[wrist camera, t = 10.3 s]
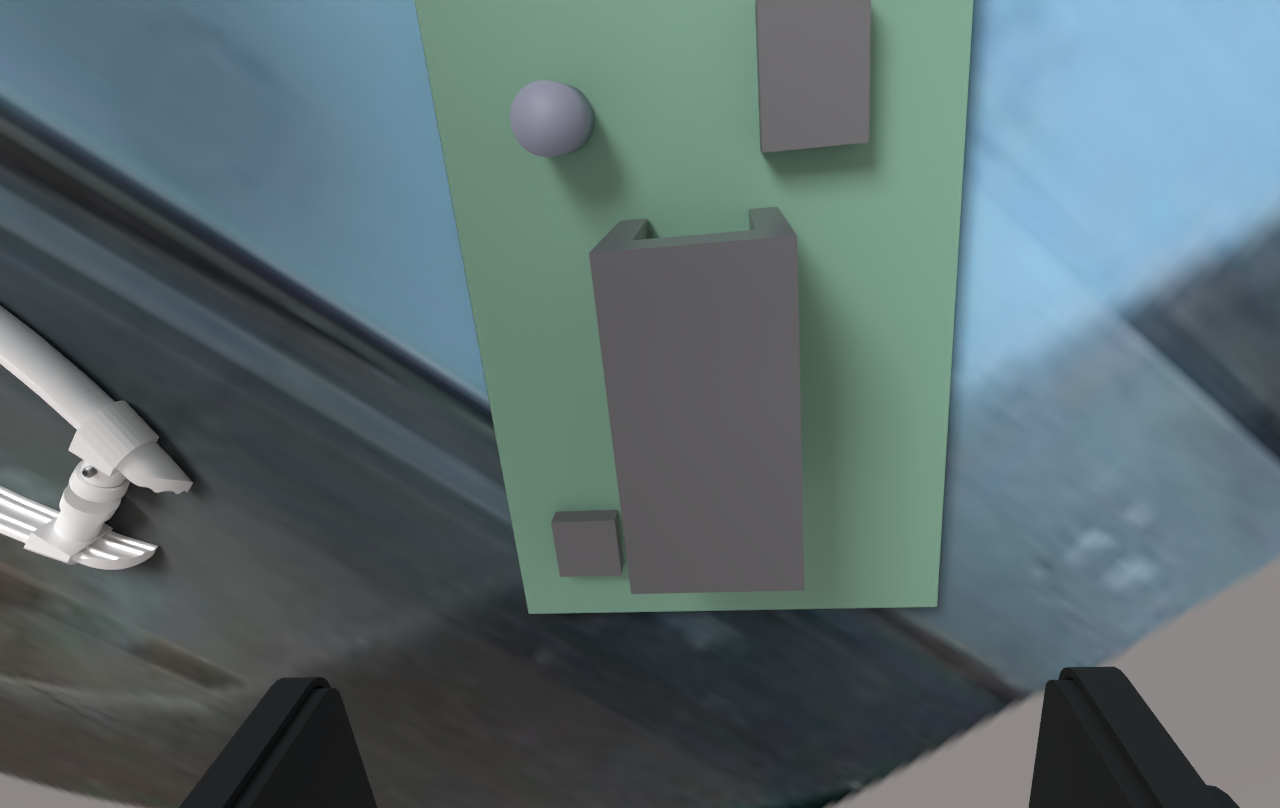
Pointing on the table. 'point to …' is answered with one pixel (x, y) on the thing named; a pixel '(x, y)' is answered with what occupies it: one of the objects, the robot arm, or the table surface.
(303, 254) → the table surface
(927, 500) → the board
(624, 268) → the block
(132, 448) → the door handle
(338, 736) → the robot arm
